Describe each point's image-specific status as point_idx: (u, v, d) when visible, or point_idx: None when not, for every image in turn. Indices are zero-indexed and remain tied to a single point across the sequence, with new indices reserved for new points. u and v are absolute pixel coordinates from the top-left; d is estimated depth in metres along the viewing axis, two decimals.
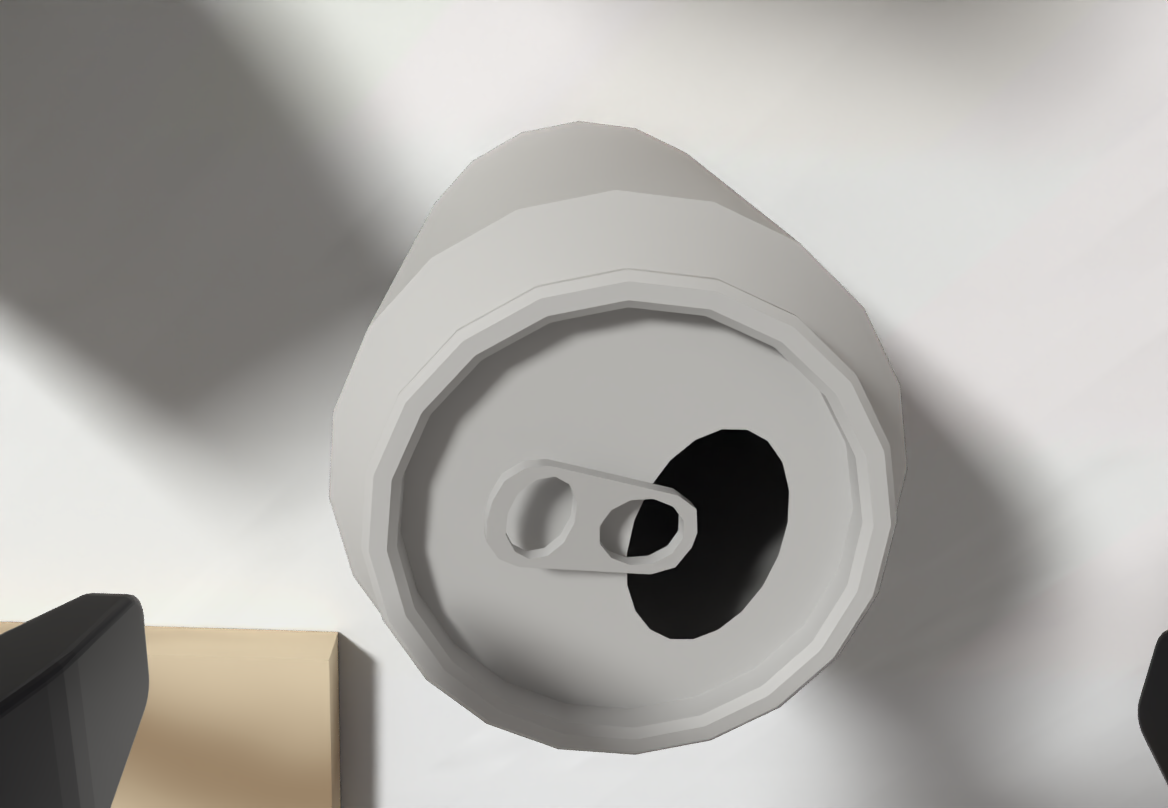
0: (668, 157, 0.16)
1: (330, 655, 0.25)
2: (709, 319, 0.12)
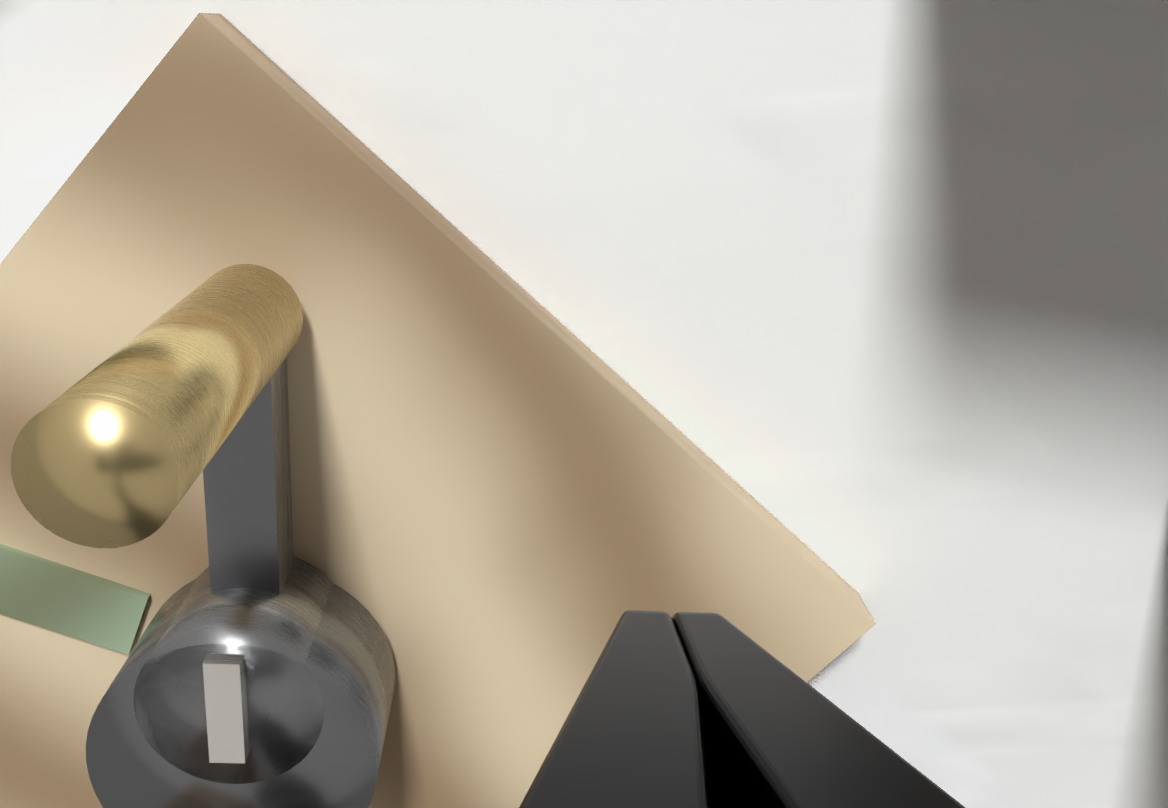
0: None
1: None
2: None
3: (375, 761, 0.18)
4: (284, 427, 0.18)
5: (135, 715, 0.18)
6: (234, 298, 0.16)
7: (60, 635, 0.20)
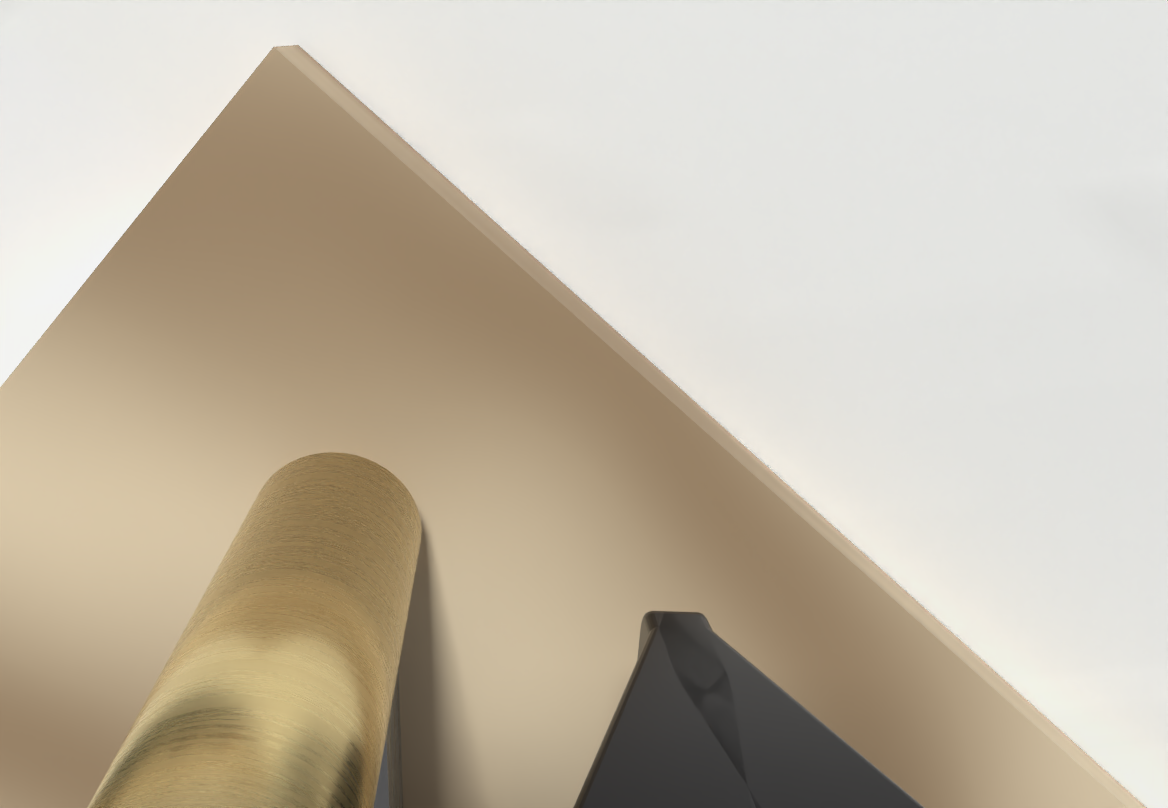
0: None
1: None
2: None
3: None
4: (395, 701, 0.11)
5: None
6: (332, 553, 0.09)
7: None
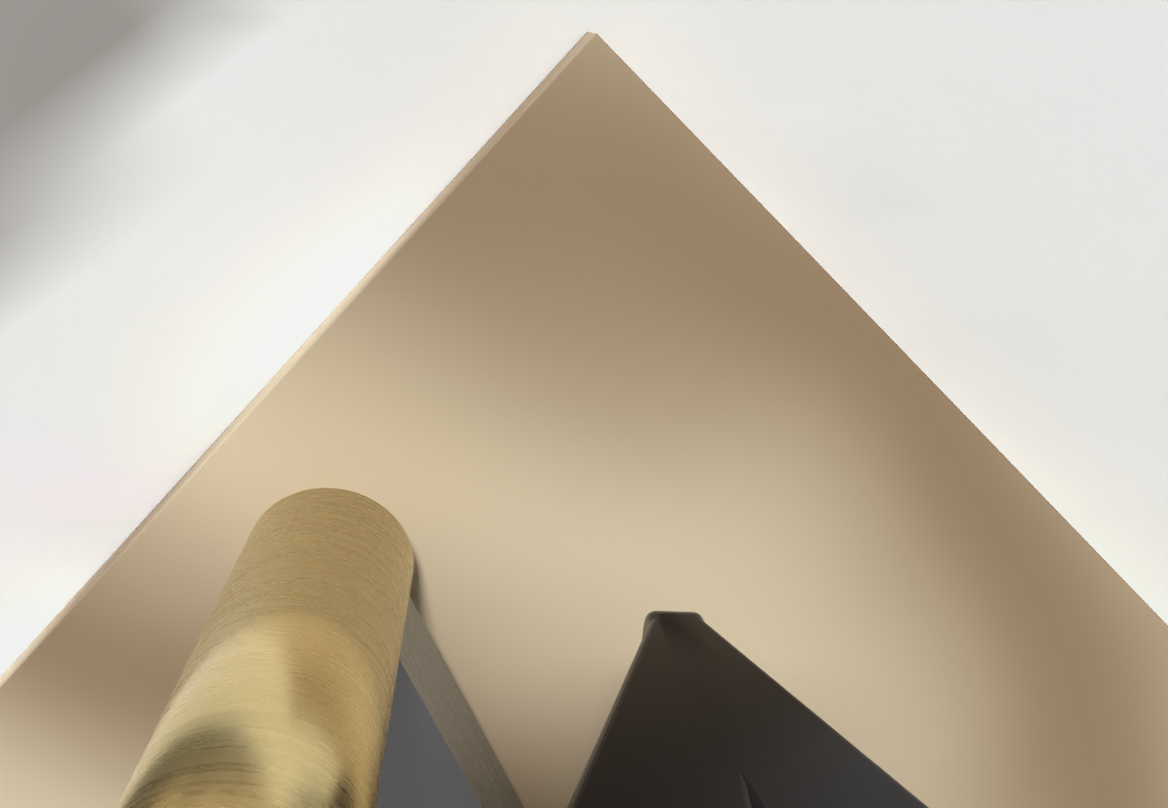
0: None
1: None
2: None
3: None
4: (452, 698, 0.11)
5: None
6: (283, 589, 0.09)
7: None
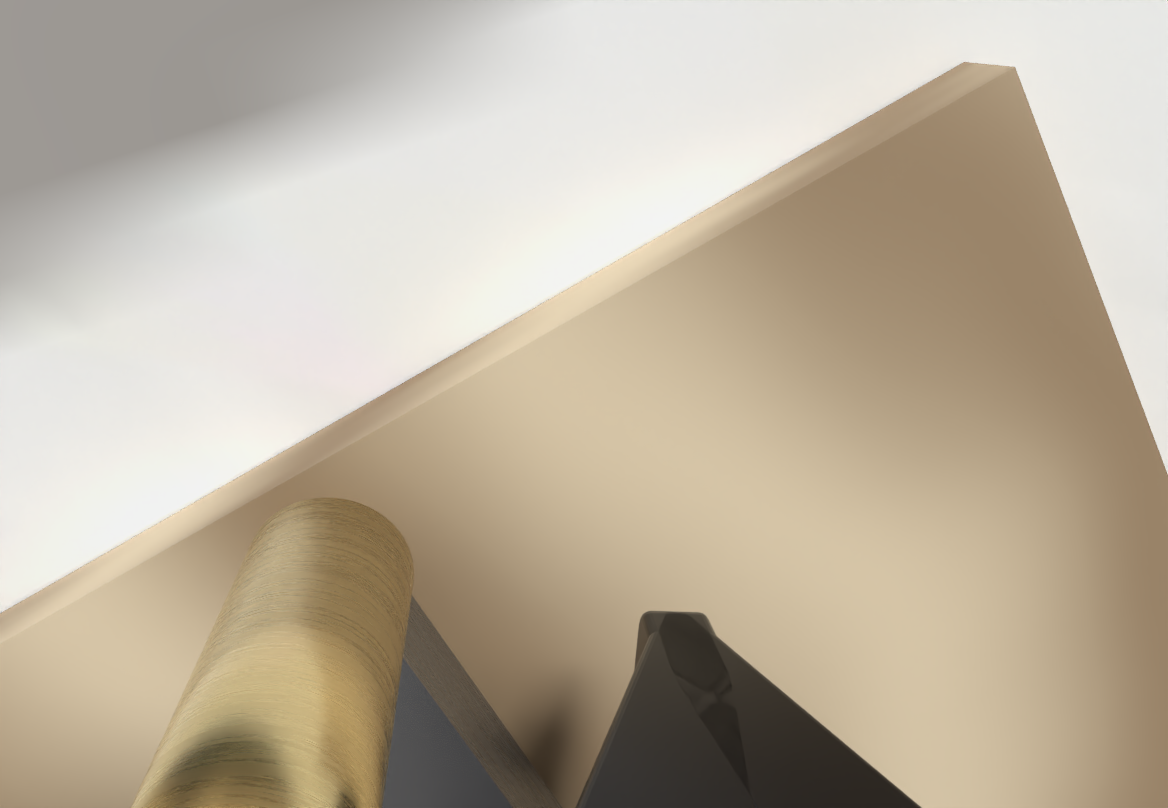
0: None
1: None
2: None
3: None
4: (467, 694, 0.11)
5: None
6: (275, 601, 0.09)
7: None
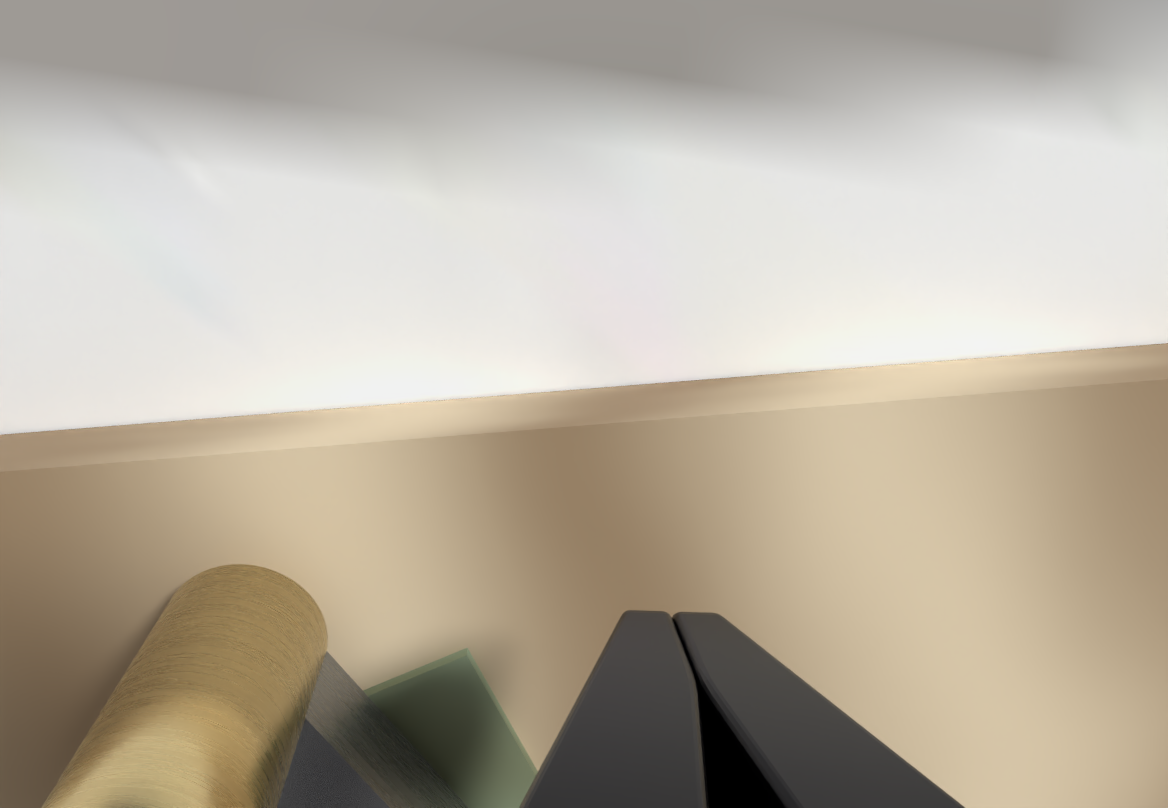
0: None
1: None
2: None
3: None
4: (390, 747, 0.12)
5: None
6: (153, 681, 0.09)
7: None
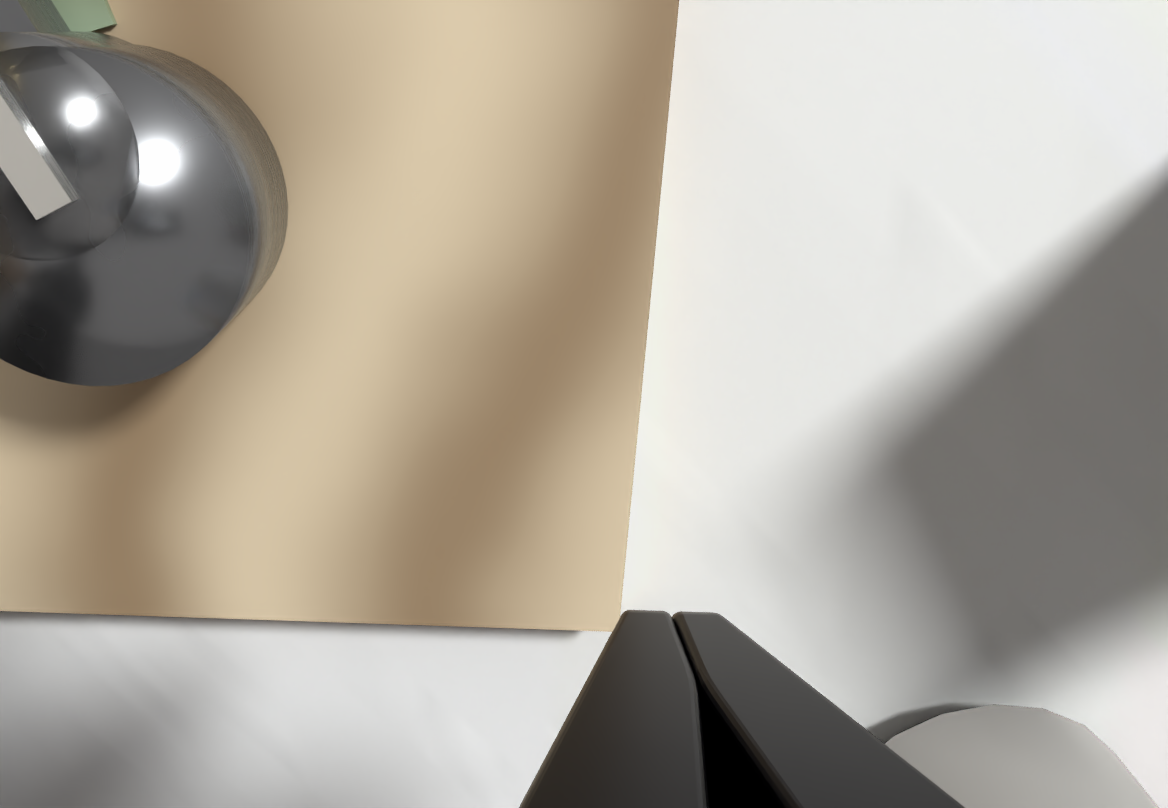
0: None
1: None
2: None
3: (214, 139, 0.15)
4: None
5: None
6: None
7: None
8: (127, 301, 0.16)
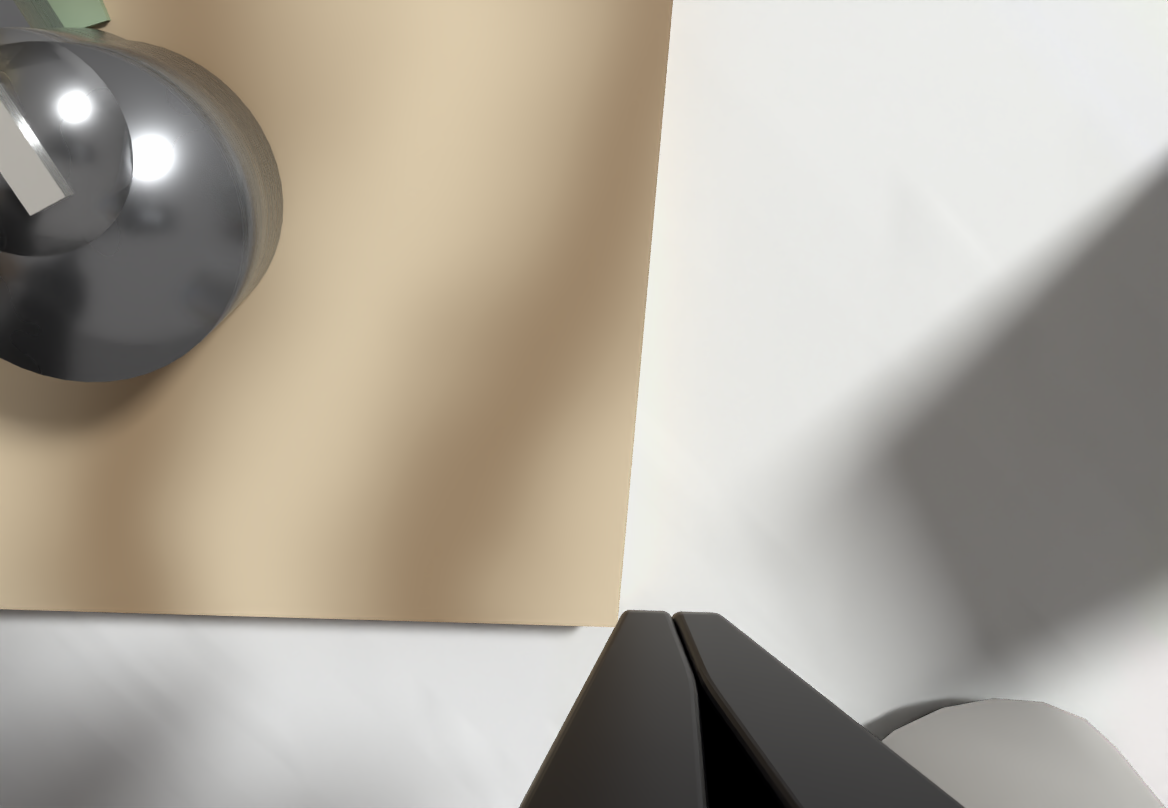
0: None
1: None
2: None
3: (207, 134, 0.15)
4: None
5: None
6: None
7: None
8: (122, 296, 0.15)
